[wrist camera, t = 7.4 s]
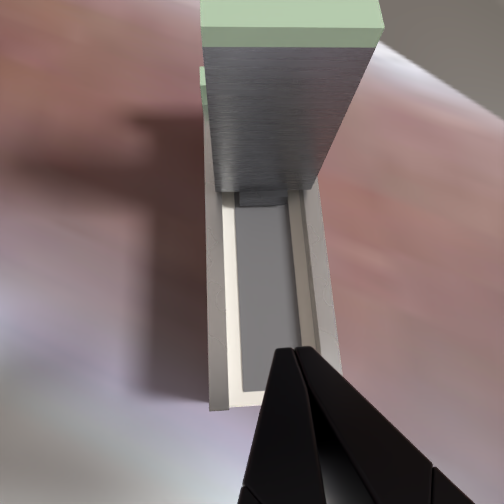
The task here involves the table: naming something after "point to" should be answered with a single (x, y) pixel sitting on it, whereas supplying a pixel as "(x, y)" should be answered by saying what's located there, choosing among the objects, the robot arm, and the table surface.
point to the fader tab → (280, 87)
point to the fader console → (262, 285)
